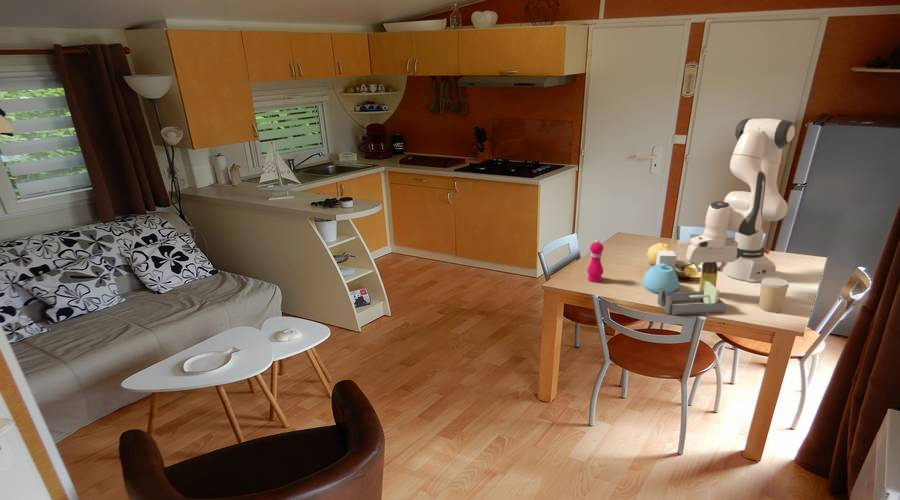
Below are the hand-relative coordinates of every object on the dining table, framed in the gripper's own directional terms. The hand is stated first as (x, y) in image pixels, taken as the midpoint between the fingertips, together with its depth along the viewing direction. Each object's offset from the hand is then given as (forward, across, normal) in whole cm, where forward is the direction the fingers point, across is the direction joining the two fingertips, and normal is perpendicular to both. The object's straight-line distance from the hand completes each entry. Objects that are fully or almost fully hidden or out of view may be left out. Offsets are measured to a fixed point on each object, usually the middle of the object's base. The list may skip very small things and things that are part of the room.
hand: (709, 271), depth 220 cm
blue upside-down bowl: (+11, +16, -8) cm, 21 cm away
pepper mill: (+11, +42, -20) cm, 48 cm away
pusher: (+11, +8, +12) cm, 18 cm away
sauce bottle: (+11, -1, 0) cm, 11 cm away
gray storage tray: (+11, +12, +12) cm, 20 cm away
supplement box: (+11, +10, -19) cm, 24 cm away
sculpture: (+10, +5, -36) cm, 38 cm away
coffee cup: (+11, -19, +16) cm, 27 cm away
